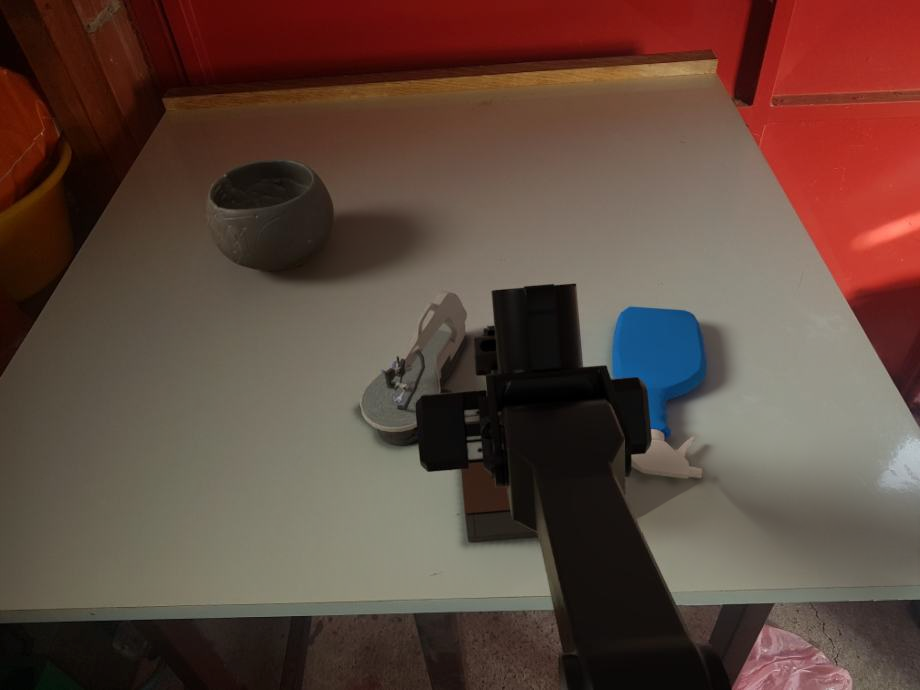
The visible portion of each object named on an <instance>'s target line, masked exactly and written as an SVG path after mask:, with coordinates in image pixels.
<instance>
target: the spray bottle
mask: <svg viewBox="0 0 920 690" xmlns="http://www.w3.org/2000/svg"><path fill="white" fill-rule="evenodd" d="M705 348H706V347H705V341H704V336H703V333H702V329H701V325H700V322H699V321H698V319H697V317H696V315H695V314H694V313H692V312H690V311H688V310H685V309H674V308H660V307H659V308H658V307H644V306H631V305H630V306H628V307H626V308H625V309H623V310H622V311H621V312H620V313H619V314H618V317H617V319H616V323H615V328H614V334H613V339H612V351H611V356H612V357H611V370H612V371H611V372H612V378H624V377H638V378H639V379H641V380H642V381H643V382H644V383H645V385H646V388H647V391H648V402H649V413H650V424H651V435H652V441H651V446H650V447H649V449H648V450H647V452H646V453H645V454H635V455H631V458H632V464H631V468H633V469H635V470H637V471H638V472H640V473H642V474H647V475H655V476H664V477H671V478H679V479H689V478H698V479H702V476H703V468H701V467H696V466H691V465H690V462H689V461H688V459H687V458H686V455H687V453H688V450H689V448H690V446H691V444H692V443H693V442H694V441H695V437H694V436H691V437H690V438H688V439H687V440H686V441H685V442H684V443H683V444H682V445H681V446H680V447H679V448H678V449H674V448H673V447H672V446H670V444H669V443H667V442H666V441H665V439H667V438H668V437H671V436H672V430H671V428H670V427H669V426H668V424H667V420H668V414H667V412H666V409H667V403H666V402H667V401H670V400H673V399H675V398H678V397H681V396H684V395H686V394H688V393H690V392H691V391H693V390H694V389H695V388H697V387H699V386H700V385H701V384H702V382H703V381H704V380H705V378H706V372H707V356H706V349H705Z"/></svg>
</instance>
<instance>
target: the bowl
mask: <svg viewBox="0 0 920 690" xmlns="http://www.w3.org/2000/svg"><path fill="white" fill-rule="evenodd" d="M205 219H206V223H207V228H208V233H209V236H210V238H211V240H212V242H213V243H214V246H216V247H217V249H218V251H220V252H221V253H222V255H224V256H225V258H227V259H228V260H230V261H231V262H232V263H234V264H236V265H239V266H241V267H245V268H248V269H250V270H256V271H264V272H265V271H269V272H271V271H273V272H276V271H284V270H288V269H291V268H294V267H297V266H299V265H301V264H303V263H305V262H307V261H308V260H310V259H311V258H313V257H314V256H315V255H316V254H317V253H319V251H321V249H322V248H323V247H324V246H325V245H326V243H327V242H328V241H329V238H330V236H331V235H332V232H333V228H334V223H335V210H334V202H333V200H332V196H331V195H330V192H329V190H328V188H327V187H326V185H325V183H324V182H323V180H322V179H321V177H320V176H319V174H317V173H316V172H315V171H314V170H313V169H312V168H311V167H310V166H308V165H307V164H305V163H303V162H301V161H297V160H293V159H288V158H287V159H286V158H269V159H267V158H266V159H261V160H256V161H251V162H248V163H247V162H246V163H243V164H241V165H238V166H235V167H233V168H231V169H229V170H228V171H226V172H225V173H224V174H223V175H220V176H219V177H218V178H217V179H215V180H214V181H213V183H212V184H211V185H210V187H209V190H208V194H207V198H206V204H205Z"/></svg>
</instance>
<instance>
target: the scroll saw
mask: <svg viewBox="0 0 920 690" xmlns="http://www.w3.org/2000/svg"><path fill="white" fill-rule="evenodd" d="M467 318H468V313H467V310H466V309H465V307H464V305H463V303H462V301H461V299H460V297H459V296H458V295H457V294H456V293H455V292H449V291H447V290H441V291H440V292H439V293H438V294H437V296H436V298H435V299H434V301H433V302H429V303H428V304H427V306H426V307H425V308H424V310H423V312H422V313H421V315H420V317H419V319H418V321H417V322H416V326H415V330H414V335H413V336H412V339H411V341H410V342H409V344H408V345H407V348H406V350H405V352H404V354H403V355H402V357H401V359H400V358H399V355H397V356H396V360H394V361H393V362H392V363H391V364H392V365H391V366H390V367H388V368H387V369H385V370H384V369H381V370H380V373H379V374H378V375H377V376H376V377H374V378H372V380H371V381H370V382H369V383H368V385H366V387H365V388H364V390H363V392H362V394H361V396H360V400H359V401H360V402H359V404H360V405H359V406H358V408H359V411H360V413H361V415H362V417H363V418H364V420H365V421H366V422H367V423H368V424H369V425H370V426H372V428H376V431H377V434H378V437H379V439H380V440H381V441H383V442H384V443H386V444H389V445H391V446H397V447H401V446H403V447H404V446H407V445H410V444H411V443H414V442H415V441H418V434H417V422H416V402H417V401H418V400H419V398H420V397H421V396H422V395H426V394H437V393H449V392H453V391H452V390H451V389H447V388H443V387H442V385H443V384H444V383H445V382H446V381H447V380H448V378H449V377H450V375H451V374H452V372H453V370H454V368H455V366H456V364H457V362H458V359H459V357H460V355H461V353H462V352H463V350H464V348H465V346H466V344H467V342H468V339H467V337H468V336H467V334H466V321H467Z"/></svg>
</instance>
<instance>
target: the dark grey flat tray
mask: <svg viewBox="0 0 920 690" xmlns="http://www.w3.org/2000/svg"><path fill="white" fill-rule="evenodd" d="M464 518H465V519H464V520H465V526H466V527H465V528H466V537H467V542H468V543H474V542H485V541H487V542H488V541H498V540H508V539H509V540H510V539H522V538H532V537H538V533H537V532H535V531H533V530H531V529H529V528H527V527H525V526H523V525H522V524H520V523H518V522H516V521H515V520H513V519H512V516H511V510H501V511H489V512H477V513H465V512H464Z"/></svg>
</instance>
